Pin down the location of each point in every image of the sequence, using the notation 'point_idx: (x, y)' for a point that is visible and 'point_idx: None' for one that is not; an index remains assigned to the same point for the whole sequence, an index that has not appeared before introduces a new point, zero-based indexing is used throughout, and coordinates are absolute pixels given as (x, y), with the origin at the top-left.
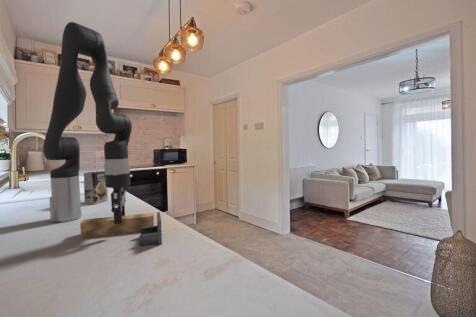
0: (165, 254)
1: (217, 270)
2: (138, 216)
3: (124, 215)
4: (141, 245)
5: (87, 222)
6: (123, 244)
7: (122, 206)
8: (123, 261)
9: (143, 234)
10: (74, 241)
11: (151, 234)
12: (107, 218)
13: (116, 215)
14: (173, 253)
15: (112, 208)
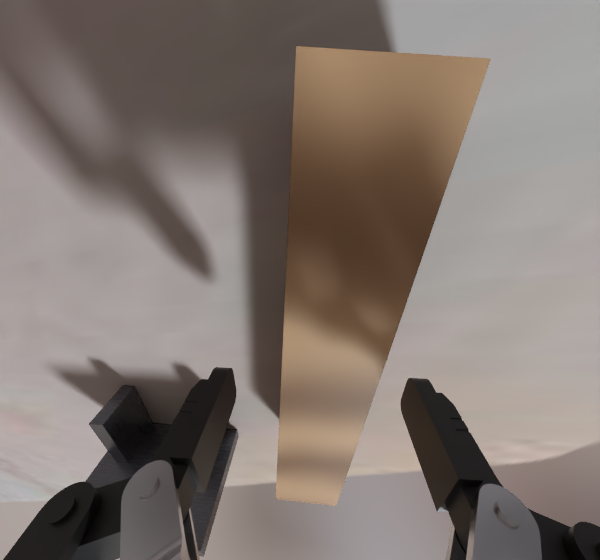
0: (66, 426)
1: (9, 470)
2: (300, 463)
3: (401, 409)
4: (122, 390)
5: (293, 155)
6: (142, 343)
7: (441, 498)
8: (3, 347)
9: (105, 433)
10: (230, 69)
11: (108, 448)
12: (348, 328)
13: (175, 441)
14: (74, 437)
15: (15, 552)
